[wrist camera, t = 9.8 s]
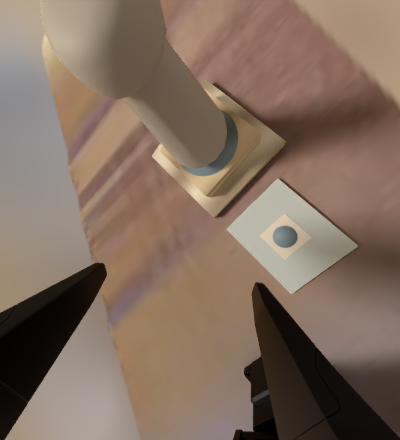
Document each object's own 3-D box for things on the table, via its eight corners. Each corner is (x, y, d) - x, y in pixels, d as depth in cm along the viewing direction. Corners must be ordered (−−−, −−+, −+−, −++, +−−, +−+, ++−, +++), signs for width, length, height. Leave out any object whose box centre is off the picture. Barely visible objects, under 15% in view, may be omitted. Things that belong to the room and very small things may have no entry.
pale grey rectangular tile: (355, 245, 16) (359, 246, 15) (290, 292, 18) (291, 294, 17) (277, 178, 18) (277, 178, 17) (226, 228, 20) (226, 229, 19)
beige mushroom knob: (230, 112, 16) (147, -229, 4) (231, 170, 16) (156, 43, 4) (178, 123, 18) (5, -72, 5) (179, 175, 18) (19, 101, 6)
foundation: (284, 145, 17) (290, 131, 14) (215, 217, 20) (208, 218, 17) (207, 85, 19) (199, 63, 17) (156, 158, 22) (141, 150, 20)
